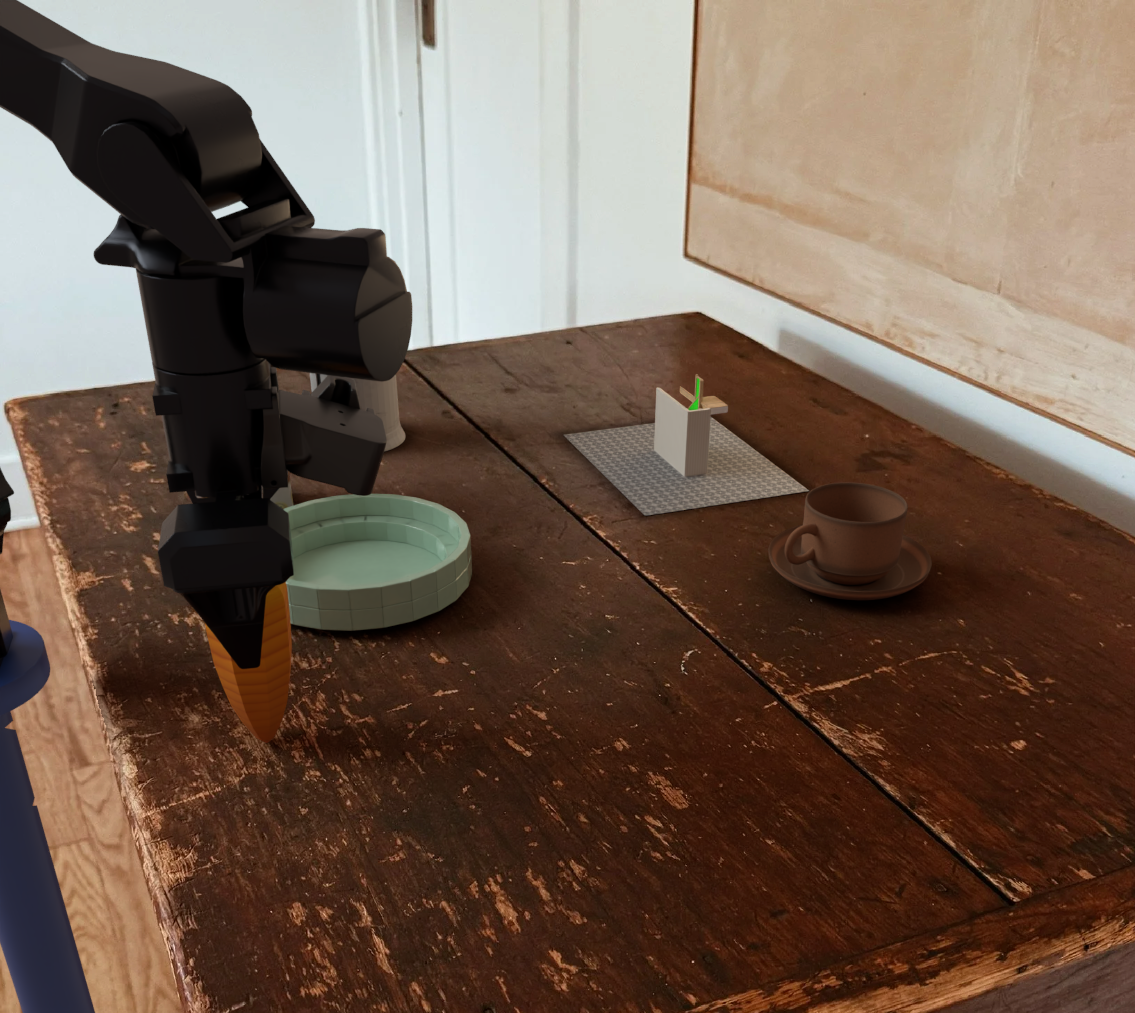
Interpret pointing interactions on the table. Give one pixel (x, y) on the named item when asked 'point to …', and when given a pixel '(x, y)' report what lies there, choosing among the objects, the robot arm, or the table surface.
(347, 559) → the bowl
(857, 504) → the cup and saucer
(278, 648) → the carrot
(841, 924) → the table surface
